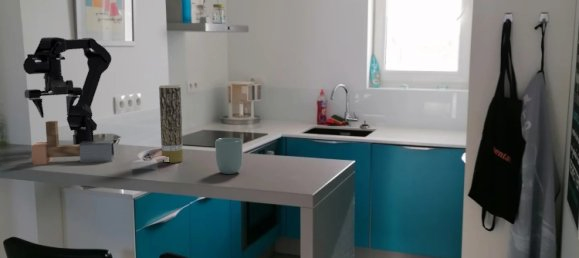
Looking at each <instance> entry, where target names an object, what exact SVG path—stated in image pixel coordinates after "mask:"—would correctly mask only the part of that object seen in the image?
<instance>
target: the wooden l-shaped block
mask: <svg viewBox="0 0 579 258" xmlns="http://www.w3.org/2000/svg"><path fill="white" fill-rule="evenodd" d="M58 123H59V122H58V120H48V121H45V135H46V142H47V157H52V158H68V157H69V158H72V157H73V158H74V157H75V158H76V157H80V146H79V145H73V144H60V139H59V138H60V137H59V125H58Z"/></svg>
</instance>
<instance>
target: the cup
mask: <svg viewBox="0 0 579 258" xmlns="http://www.w3.org/2000/svg"><path fill="white" fill-rule="evenodd" d="M214 145H215V148H214V149H215V162H216V167H217V170H218V172H220V173H222V174H223V175H224V174H225V175H233V174H237V173H239V172H240V170H241V169H242V166H243V159H244V158H243V157H244V155H243V154H244V151H243V150H244V149H243V139H242V138H239V137H223V138H222V137H221V138H217V139H216V140H215V143H214Z"/></svg>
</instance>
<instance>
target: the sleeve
mask: <svg viewBox="0 0 579 258" xmlns="http://www.w3.org/2000/svg"><path fill="white" fill-rule="evenodd" d="M79 146H80V156H79V158H80V163H105V162H109V163H110V162H113V161H114V159H115V147H114V146H115V144H114V140H94V141H83V142H81V143H80V144H79Z"/></svg>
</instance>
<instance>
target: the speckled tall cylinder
mask: <svg viewBox="0 0 579 258" xmlns="http://www.w3.org/2000/svg"><path fill="white" fill-rule="evenodd" d="M181 87H182V86H181V85H179V84H165V85H164V84H163V85H158V90H159V91H158V93H159V116H160V119H159V120H160V138H161V139H160V140H161V141H160V142H161V157H162V156H166V157H169V162H170V163H169V164H177V163H181V162H183V160H184V148H183V147H184V144H183V142H184V140H183V119H182V91H181V90H182V89H181Z"/></svg>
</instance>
